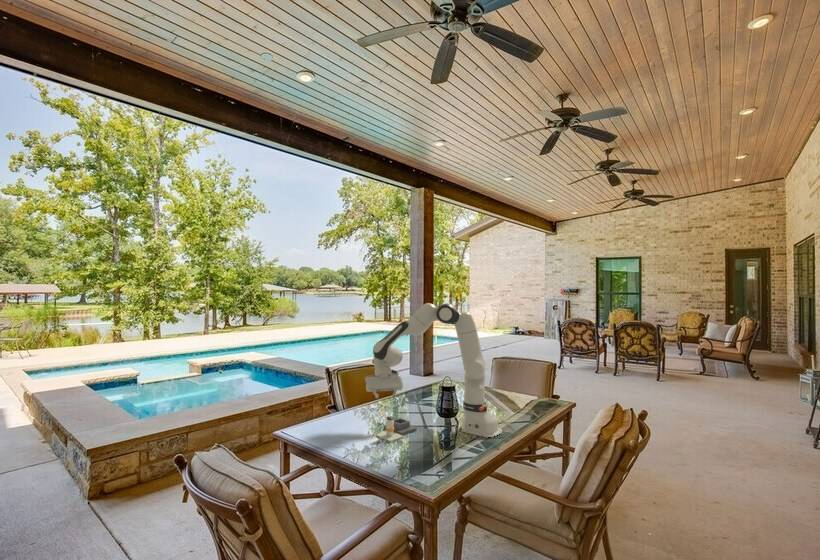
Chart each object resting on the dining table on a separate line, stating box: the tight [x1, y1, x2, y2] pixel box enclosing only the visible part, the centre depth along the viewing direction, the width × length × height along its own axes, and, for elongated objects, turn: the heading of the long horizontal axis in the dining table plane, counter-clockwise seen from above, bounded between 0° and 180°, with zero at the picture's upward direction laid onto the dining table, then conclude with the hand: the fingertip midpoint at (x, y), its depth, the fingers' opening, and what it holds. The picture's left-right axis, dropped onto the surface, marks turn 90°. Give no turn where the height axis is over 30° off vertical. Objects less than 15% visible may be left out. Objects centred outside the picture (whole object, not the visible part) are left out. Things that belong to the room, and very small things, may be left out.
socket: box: [383, 417, 417, 436], centre depth 214 cm, size 14×11×4 cm
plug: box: [385, 415, 395, 437], centre depth 203 cm, size 4×4×9 cm
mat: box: [375, 430, 405, 443], centre depth 203 cm, size 11×9×1 cm
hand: (385, 397), depth 215 cm, fingers open, 8 cm apart
